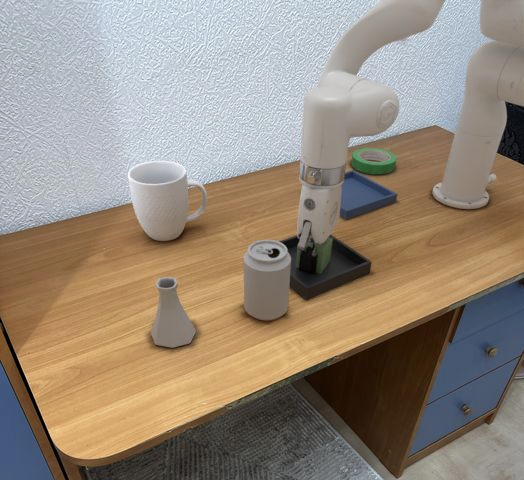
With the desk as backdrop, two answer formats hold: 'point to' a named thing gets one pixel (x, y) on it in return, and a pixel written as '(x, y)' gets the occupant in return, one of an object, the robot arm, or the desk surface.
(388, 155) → the tape roll
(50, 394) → the desk surface
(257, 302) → the can
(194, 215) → the mug
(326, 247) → the block
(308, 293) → the black shallow box
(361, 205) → the tray
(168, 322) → the flask
